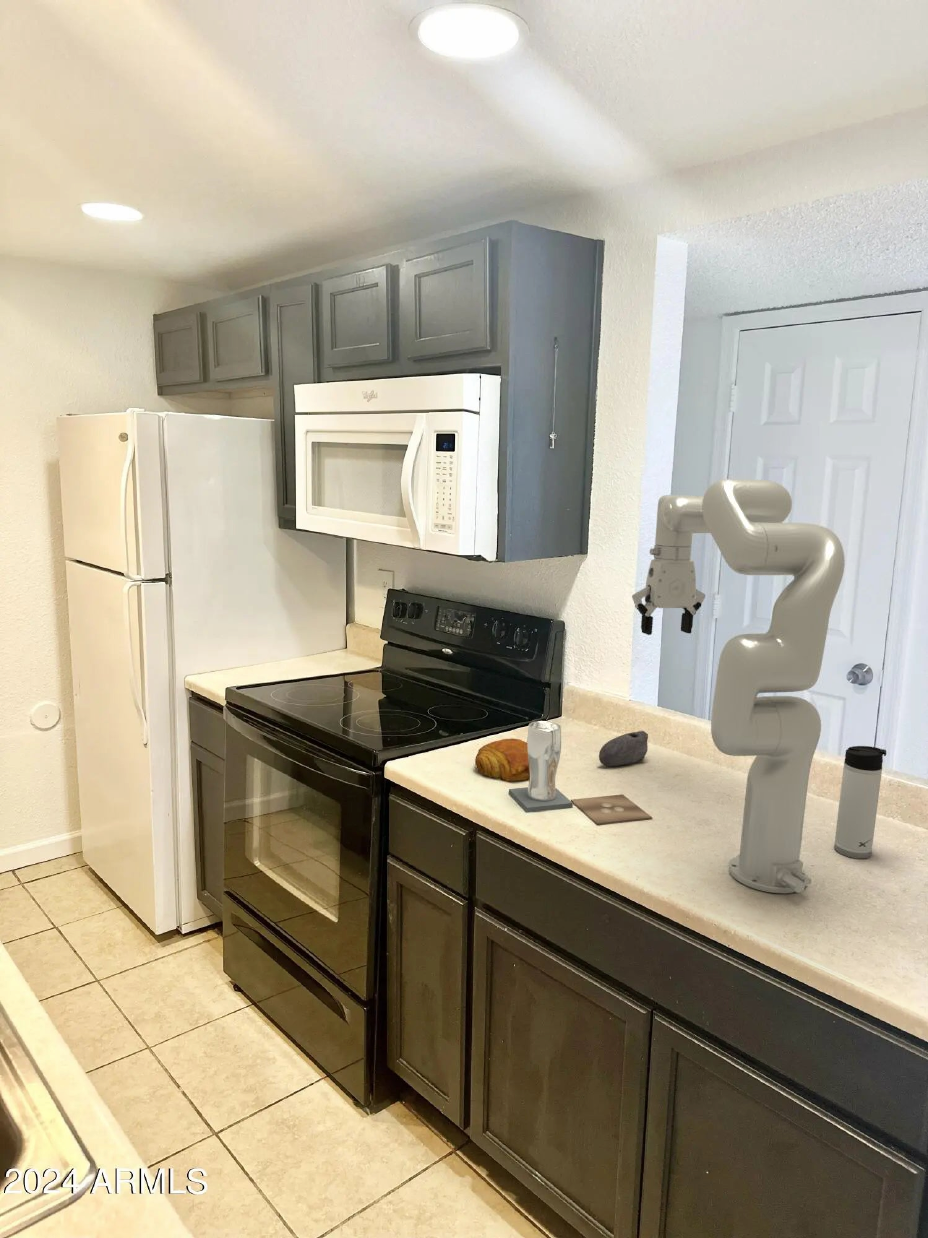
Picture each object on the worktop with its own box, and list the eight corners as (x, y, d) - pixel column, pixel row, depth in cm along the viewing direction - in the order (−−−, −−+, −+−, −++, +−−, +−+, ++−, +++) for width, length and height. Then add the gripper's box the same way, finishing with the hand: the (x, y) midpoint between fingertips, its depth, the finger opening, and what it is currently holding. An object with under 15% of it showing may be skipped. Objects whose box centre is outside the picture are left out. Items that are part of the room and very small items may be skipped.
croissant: (466, 774, 192) (462, 742, 190) (524, 756, 199) (521, 725, 197) (498, 795, 180) (494, 760, 178) (558, 775, 186) (555, 741, 185)
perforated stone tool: (605, 772, 190) (607, 743, 189) (590, 765, 195) (592, 736, 193) (654, 762, 198) (656, 734, 197) (638, 755, 202) (640, 727, 201)
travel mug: (871, 863, 149) (884, 756, 146) (831, 853, 153) (843, 748, 149) (875, 850, 155) (888, 746, 151) (836, 841, 158) (848, 739, 154)
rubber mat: (572, 807, 170) (572, 803, 169) (526, 812, 166) (527, 807, 166) (552, 789, 179) (552, 784, 179) (508, 793, 176) (508, 789, 176)
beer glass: (556, 803, 169) (560, 732, 166) (522, 800, 170) (525, 729, 167) (559, 791, 175) (563, 722, 173) (526, 787, 177) (529, 719, 174)
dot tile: (652, 819, 165) (652, 817, 165) (597, 825, 161) (597, 823, 161) (622, 796, 176) (622, 794, 176) (570, 801, 173) (570, 799, 173)
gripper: (645, 556, 171) (639, 637, 175) (717, 555, 177) (710, 635, 180) (627, 552, 178) (622, 630, 182) (697, 552, 184) (691, 628, 187)
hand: (666, 632), depth 181 cm, fingers open, 9 cm apart
